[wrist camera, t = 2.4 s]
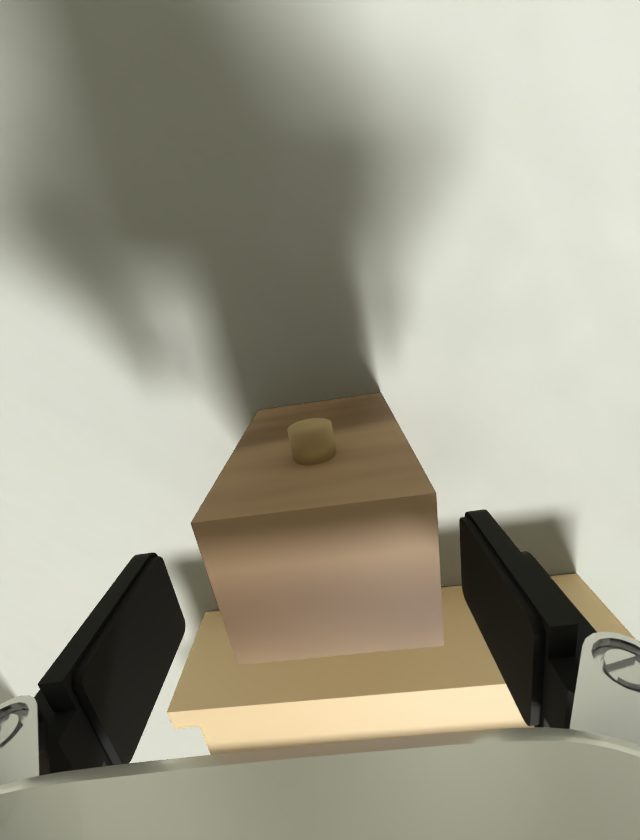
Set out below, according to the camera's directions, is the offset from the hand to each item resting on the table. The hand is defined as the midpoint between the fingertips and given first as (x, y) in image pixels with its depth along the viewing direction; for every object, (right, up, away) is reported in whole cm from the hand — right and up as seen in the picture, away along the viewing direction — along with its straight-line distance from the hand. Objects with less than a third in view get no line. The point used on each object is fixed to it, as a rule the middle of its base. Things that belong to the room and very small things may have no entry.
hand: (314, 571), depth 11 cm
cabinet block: (0, +3, +7) cm, 8 cm away
